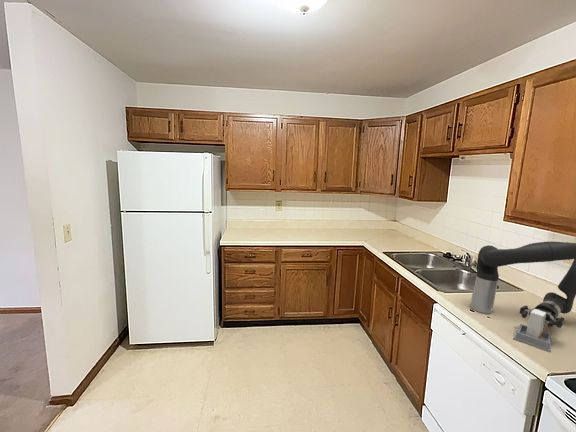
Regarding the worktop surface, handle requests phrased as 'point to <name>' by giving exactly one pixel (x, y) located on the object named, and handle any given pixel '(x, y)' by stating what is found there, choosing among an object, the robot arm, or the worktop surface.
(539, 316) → the skincare box
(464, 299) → the worktop surface
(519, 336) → the square gray tray
